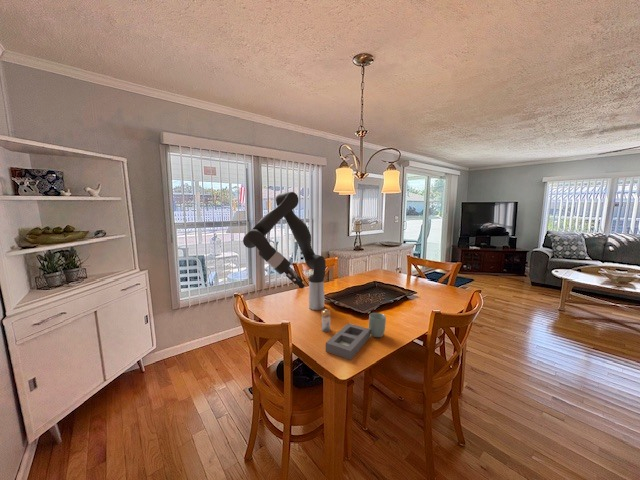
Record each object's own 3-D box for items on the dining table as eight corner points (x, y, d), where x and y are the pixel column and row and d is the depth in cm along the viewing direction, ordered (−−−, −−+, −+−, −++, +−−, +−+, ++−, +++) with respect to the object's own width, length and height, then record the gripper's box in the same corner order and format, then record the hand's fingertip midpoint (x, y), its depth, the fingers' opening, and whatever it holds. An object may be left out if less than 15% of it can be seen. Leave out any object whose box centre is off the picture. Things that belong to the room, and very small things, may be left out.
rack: (325, 351, 112) (325, 342, 111) (347, 330, 130) (348, 323, 130) (350, 360, 106) (350, 351, 105) (370, 337, 124) (370, 329, 124)
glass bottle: (324, 327, 135) (324, 307, 133) (331, 329, 132) (331, 309, 131) (320, 330, 131) (320, 310, 129) (327, 332, 129) (327, 312, 127)
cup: (366, 331, 129) (367, 312, 128) (381, 331, 130) (382, 312, 129) (370, 339, 121) (371, 319, 120) (386, 339, 122) (388, 319, 121)
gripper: (284, 259, 116) (309, 283, 120) (283, 254, 130) (306, 275, 133) (272, 271, 116) (298, 294, 119) (273, 264, 130) (296, 285, 133)
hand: (302, 284), depth 126 cm, fingers open, 8 cm apart
